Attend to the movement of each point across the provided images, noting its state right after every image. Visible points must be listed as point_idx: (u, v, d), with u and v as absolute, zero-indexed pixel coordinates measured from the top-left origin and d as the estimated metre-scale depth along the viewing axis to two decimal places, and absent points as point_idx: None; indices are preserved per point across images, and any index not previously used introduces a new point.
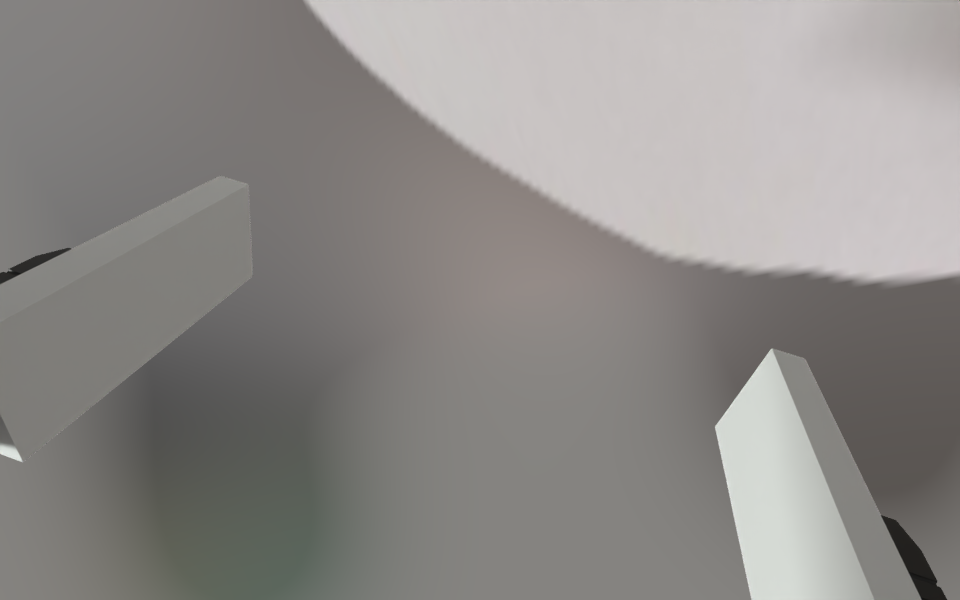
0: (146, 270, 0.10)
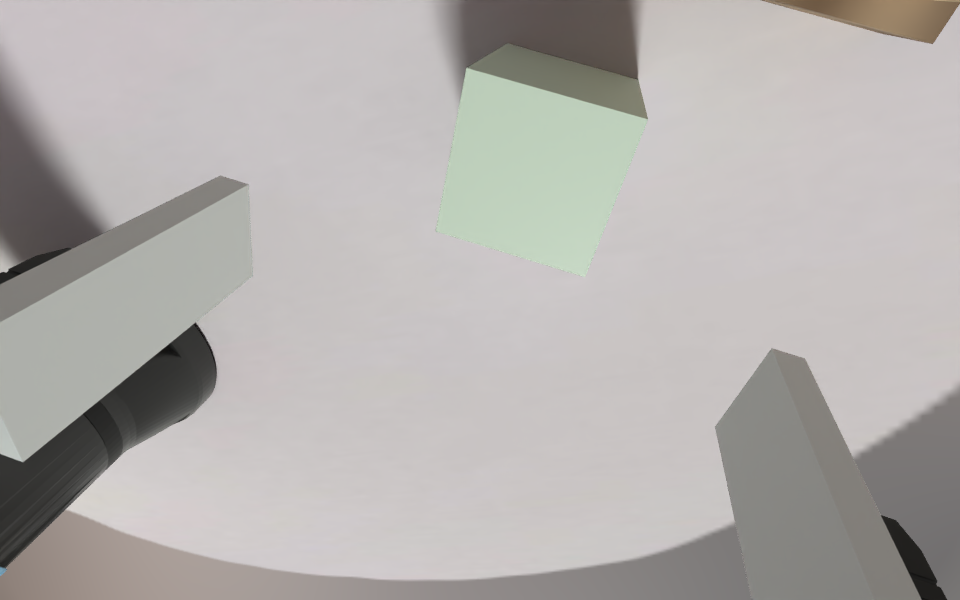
0: (146, 270, 0.10)
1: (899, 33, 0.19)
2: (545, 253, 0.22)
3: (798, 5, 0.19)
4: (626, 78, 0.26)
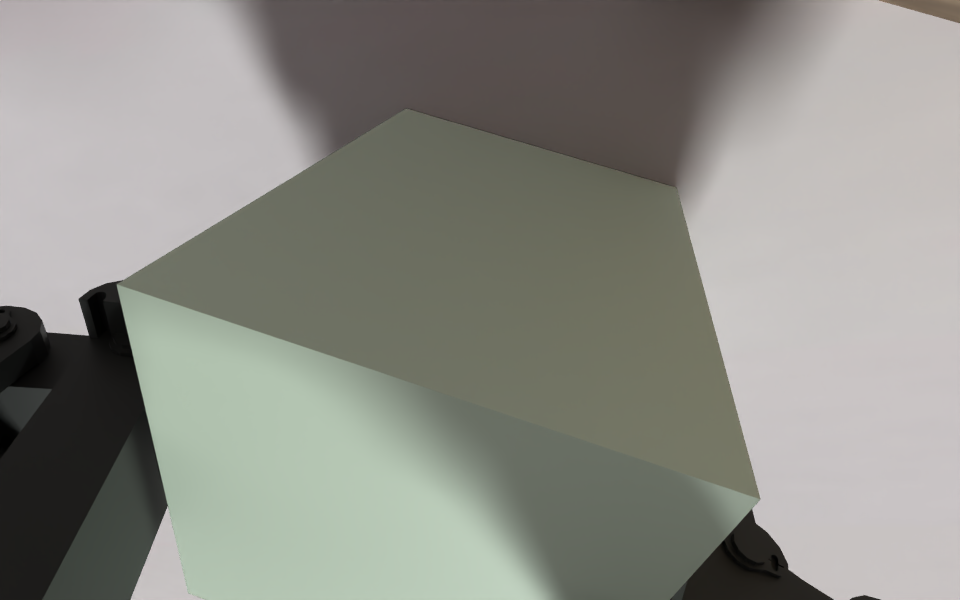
0: None
1: None
2: None
3: None
4: (652, 189, 0.12)
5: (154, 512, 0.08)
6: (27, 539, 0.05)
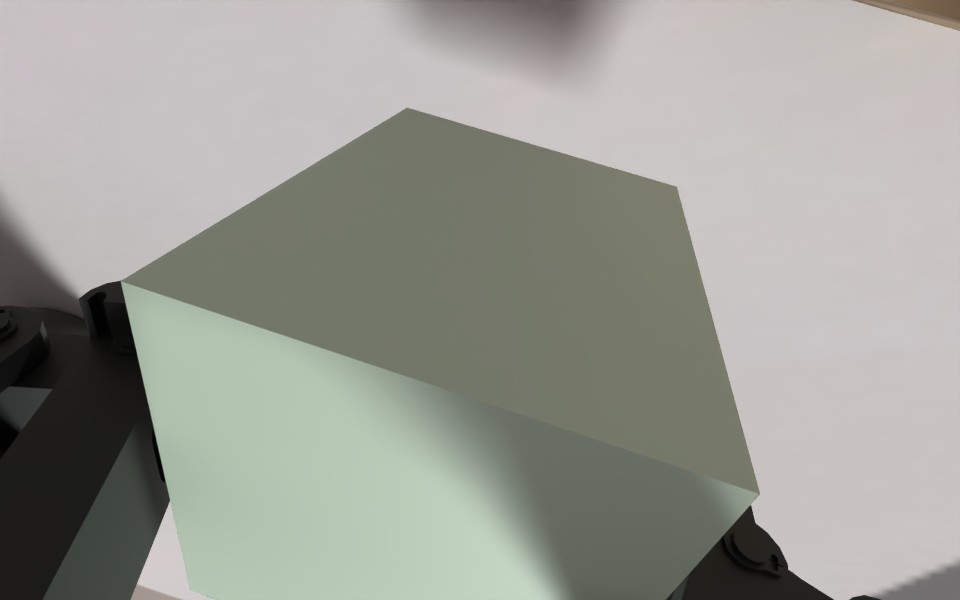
0: None
1: None
2: None
3: (938, 12, 0.13)
4: (652, 188, 0.12)
5: (154, 513, 0.08)
6: (27, 539, 0.05)
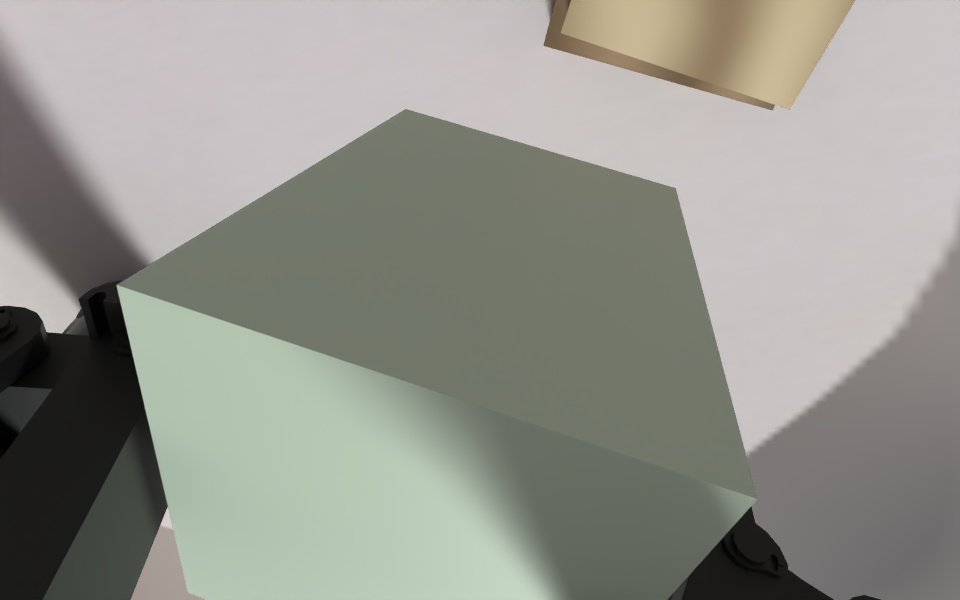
0: None
1: (747, 102, 0.26)
2: None
3: (672, 81, 0.26)
4: (651, 190, 0.12)
5: (154, 513, 0.08)
6: (27, 539, 0.05)
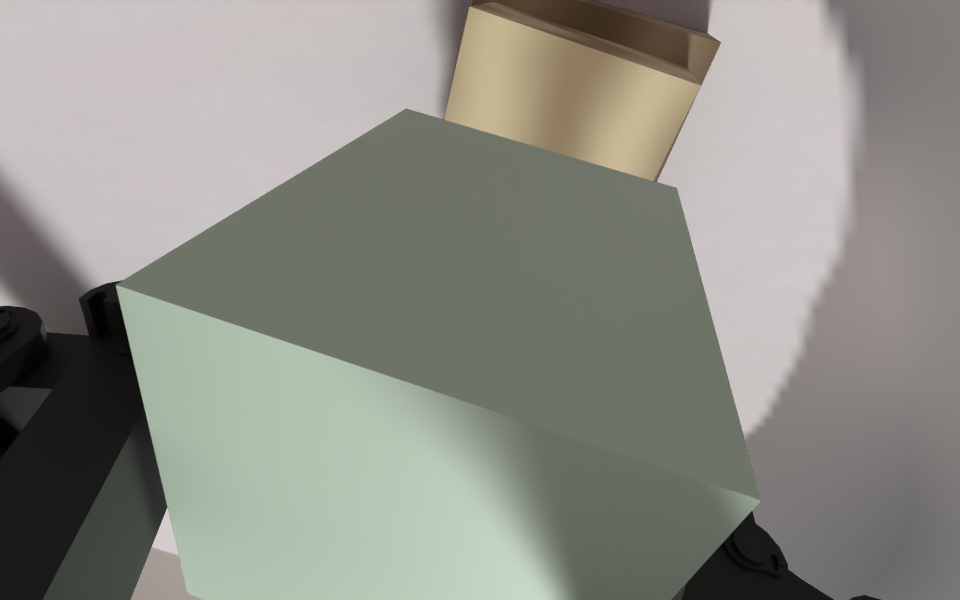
0: None
1: None
2: None
3: None
4: (653, 189, 0.12)
5: (154, 513, 0.08)
6: (27, 539, 0.05)
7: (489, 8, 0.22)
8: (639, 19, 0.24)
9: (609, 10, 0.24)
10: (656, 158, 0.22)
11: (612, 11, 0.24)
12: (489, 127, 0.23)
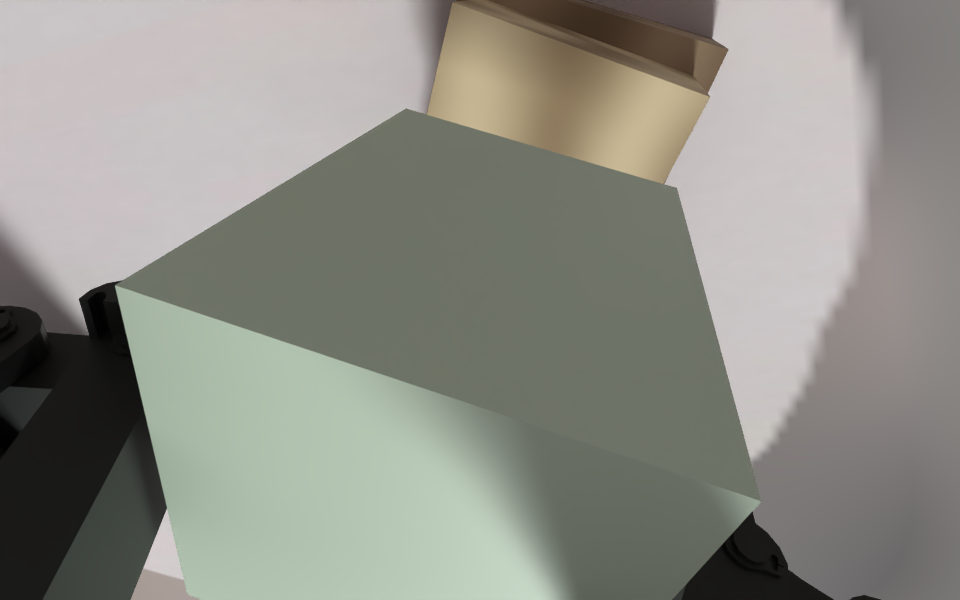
0: None
1: None
2: None
3: None
4: (653, 190, 0.12)
5: (154, 513, 0.08)
6: (27, 539, 0.05)
7: (475, 5, 0.20)
8: (639, 23, 0.22)
9: (606, 13, 0.22)
10: (658, 176, 0.20)
11: (609, 14, 0.22)
12: None
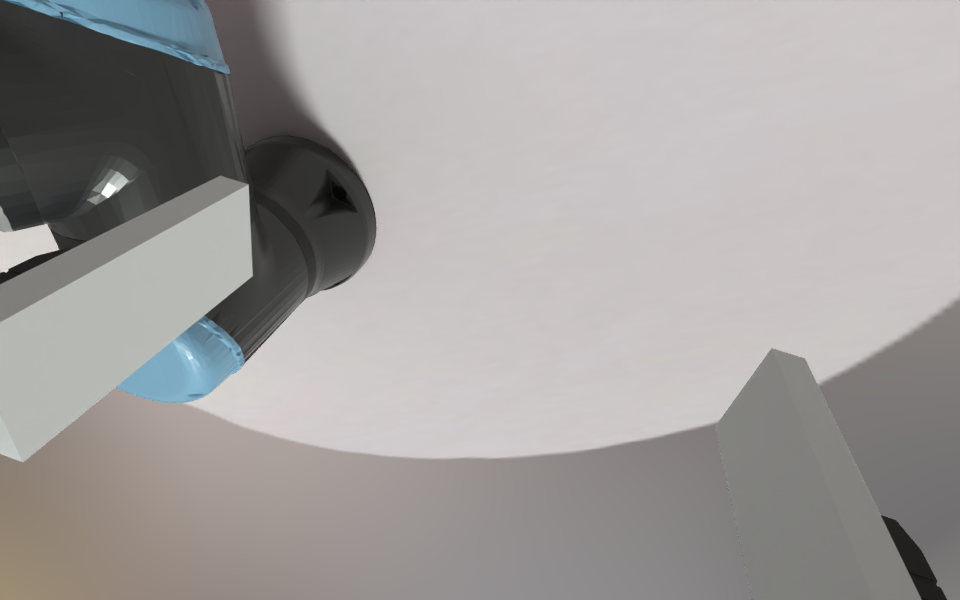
0: (146, 269, 0.10)
1: None
2: None
3: None
4: None
5: None
6: None
7: None
8: None
9: None
10: None
11: None
12: None
